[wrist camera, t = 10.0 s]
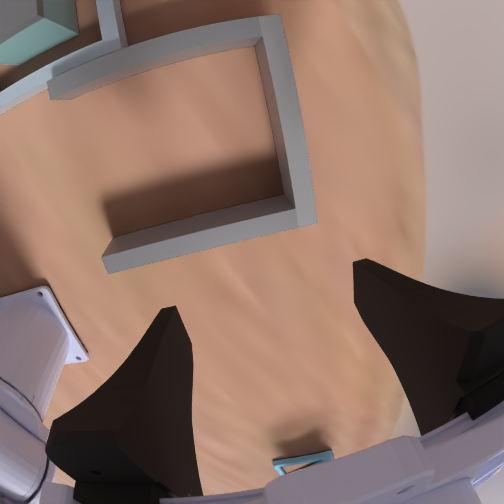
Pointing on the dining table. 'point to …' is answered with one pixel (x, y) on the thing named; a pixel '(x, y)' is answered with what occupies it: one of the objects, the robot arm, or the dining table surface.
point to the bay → (283, 127)
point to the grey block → (34, 27)
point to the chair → (303, 460)
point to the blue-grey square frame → (71, 56)
